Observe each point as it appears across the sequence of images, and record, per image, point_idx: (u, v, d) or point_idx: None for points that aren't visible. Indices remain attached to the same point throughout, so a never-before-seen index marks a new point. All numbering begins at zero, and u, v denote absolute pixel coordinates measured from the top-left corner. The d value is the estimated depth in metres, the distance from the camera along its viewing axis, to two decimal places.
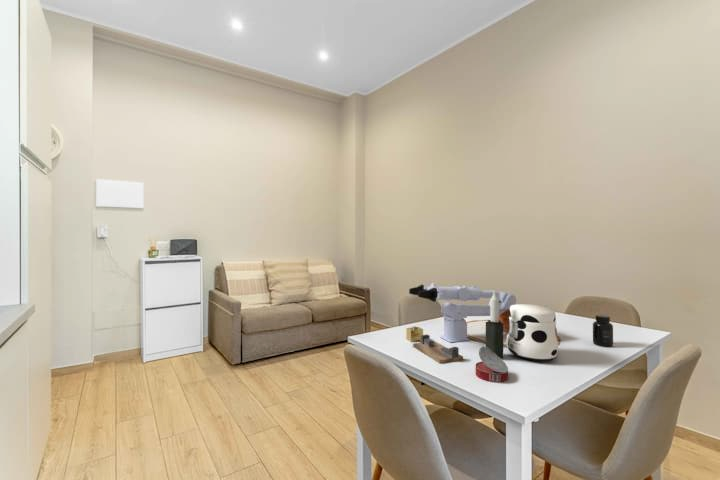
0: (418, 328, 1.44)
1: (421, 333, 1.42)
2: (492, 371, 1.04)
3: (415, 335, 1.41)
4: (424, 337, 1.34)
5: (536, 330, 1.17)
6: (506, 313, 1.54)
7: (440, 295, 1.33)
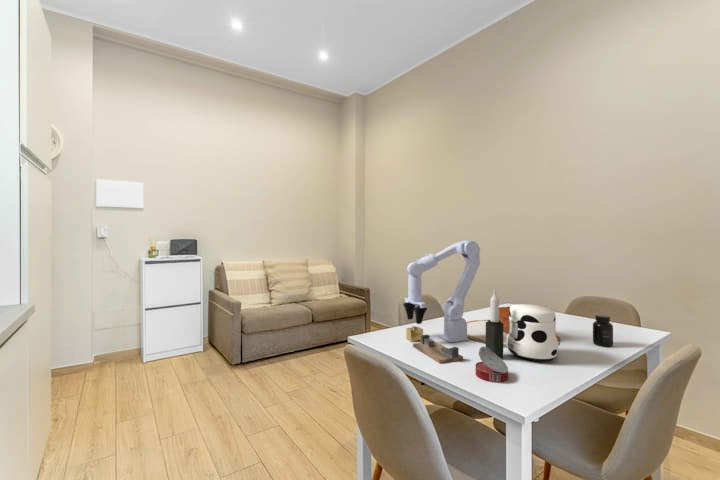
0: (418, 328, 1.44)
1: (421, 333, 1.42)
2: (492, 371, 1.04)
3: (415, 335, 1.41)
4: (424, 337, 1.34)
5: (536, 330, 1.17)
6: (505, 313, 1.55)
7: (423, 305, 1.36)
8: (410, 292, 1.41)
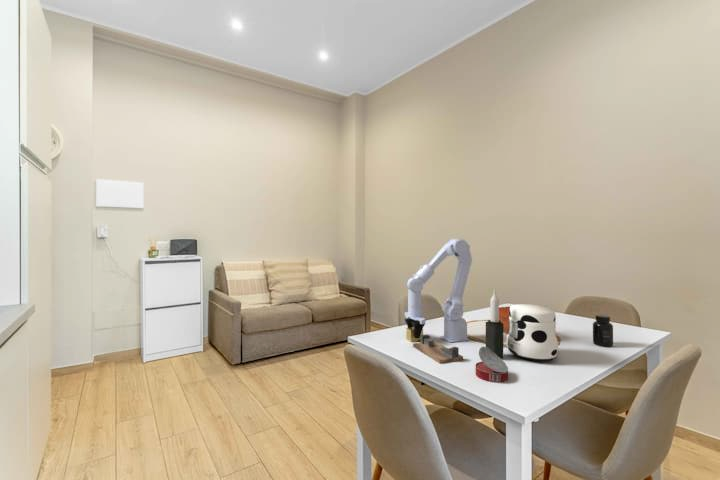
0: None
1: (421, 333, 1.42)
2: (492, 371, 1.04)
3: None
4: (424, 337, 1.34)
5: (536, 330, 1.17)
6: (504, 313, 1.55)
7: (423, 322, 1.36)
8: (410, 307, 1.41)
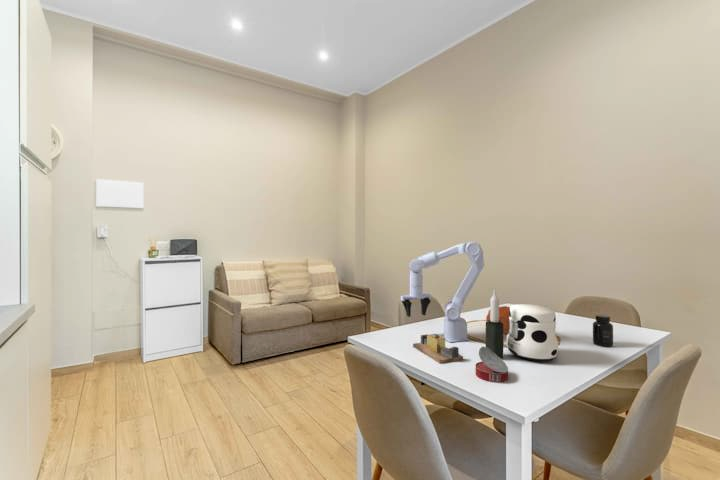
0: (438, 337, 1.26)
1: (435, 343, 1.25)
2: (492, 371, 1.04)
3: (430, 342, 1.28)
4: (424, 337, 1.34)
5: (536, 330, 1.17)
6: (499, 313, 1.55)
7: (401, 298, 1.45)
8: None
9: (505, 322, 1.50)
